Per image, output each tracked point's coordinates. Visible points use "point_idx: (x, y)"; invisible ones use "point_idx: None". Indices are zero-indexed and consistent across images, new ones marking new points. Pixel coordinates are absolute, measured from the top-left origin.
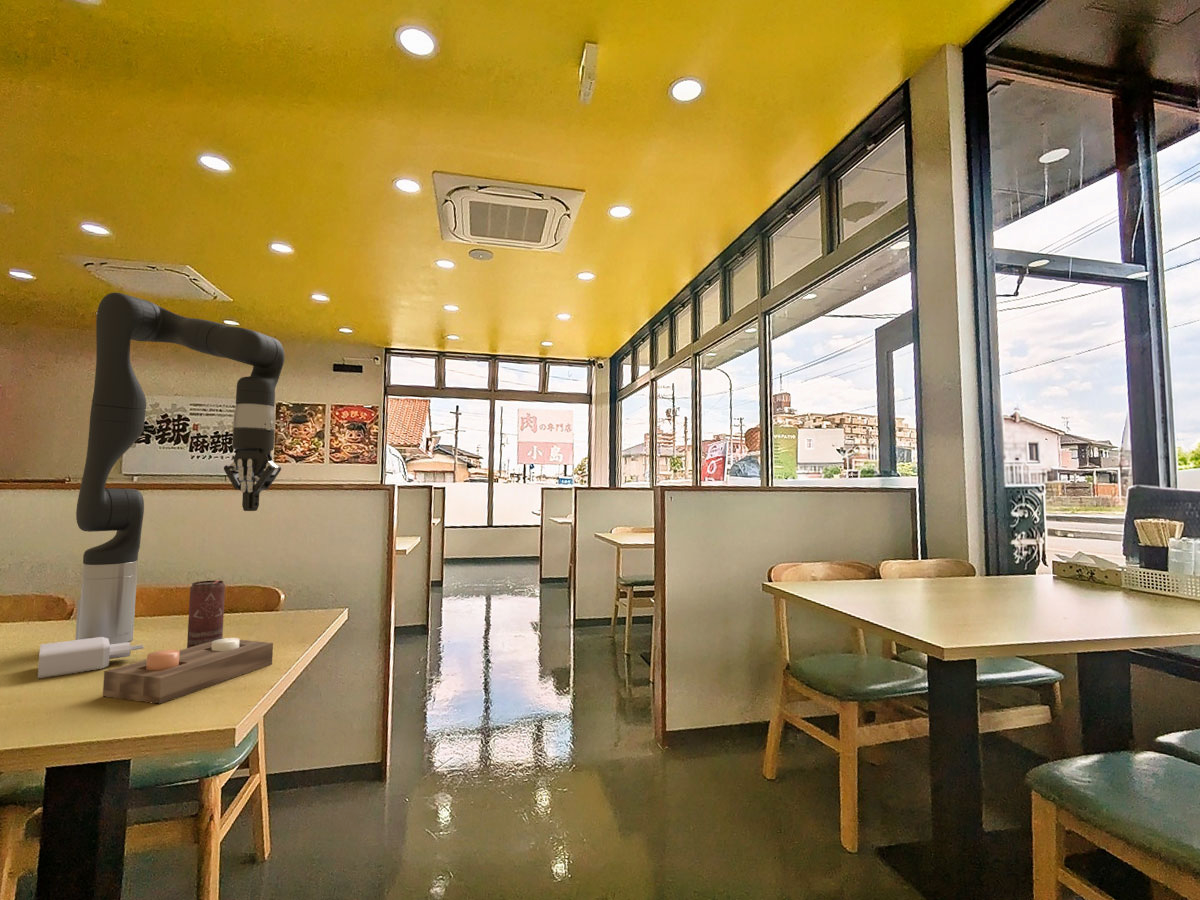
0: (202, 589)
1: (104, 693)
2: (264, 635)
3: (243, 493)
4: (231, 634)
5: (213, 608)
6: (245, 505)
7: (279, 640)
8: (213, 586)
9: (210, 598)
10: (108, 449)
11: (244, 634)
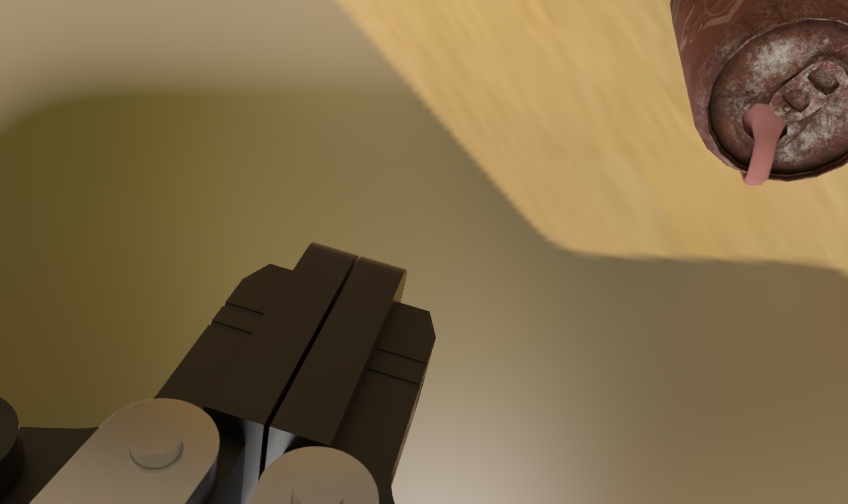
0: (781, 2)
1: None
2: (603, 218)
3: (374, 476)
4: (749, 235)
5: (704, 7)
6: (353, 293)
7: (503, 148)
8: (726, 44)
9: (726, 10)
10: None
11: (693, 234)
